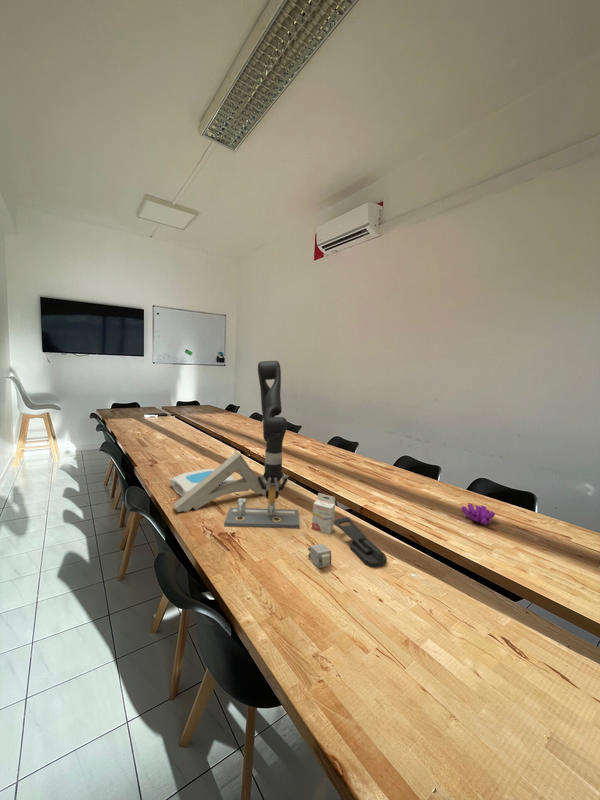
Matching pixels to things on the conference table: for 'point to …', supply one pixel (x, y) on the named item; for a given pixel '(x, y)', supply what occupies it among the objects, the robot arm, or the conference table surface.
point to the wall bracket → (212, 490)
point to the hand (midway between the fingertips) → (271, 498)
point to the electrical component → (319, 554)
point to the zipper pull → (362, 545)
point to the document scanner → (192, 480)
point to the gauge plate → (261, 517)
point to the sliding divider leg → (271, 501)
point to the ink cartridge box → (323, 513)
